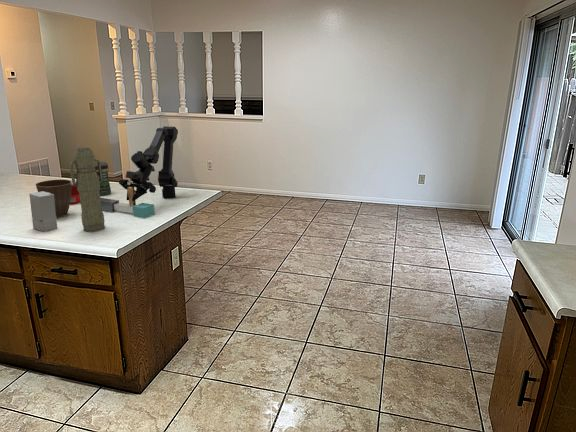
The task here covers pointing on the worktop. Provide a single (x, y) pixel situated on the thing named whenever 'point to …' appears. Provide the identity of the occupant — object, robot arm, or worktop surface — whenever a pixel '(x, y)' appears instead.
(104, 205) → the grey rectangular metal block
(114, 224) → the worktop surface
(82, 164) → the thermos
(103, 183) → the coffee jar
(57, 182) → the plant pot
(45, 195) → the skincare box
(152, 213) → the socket
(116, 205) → the bronze post on bar
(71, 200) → the canned food
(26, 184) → the worktop surface
